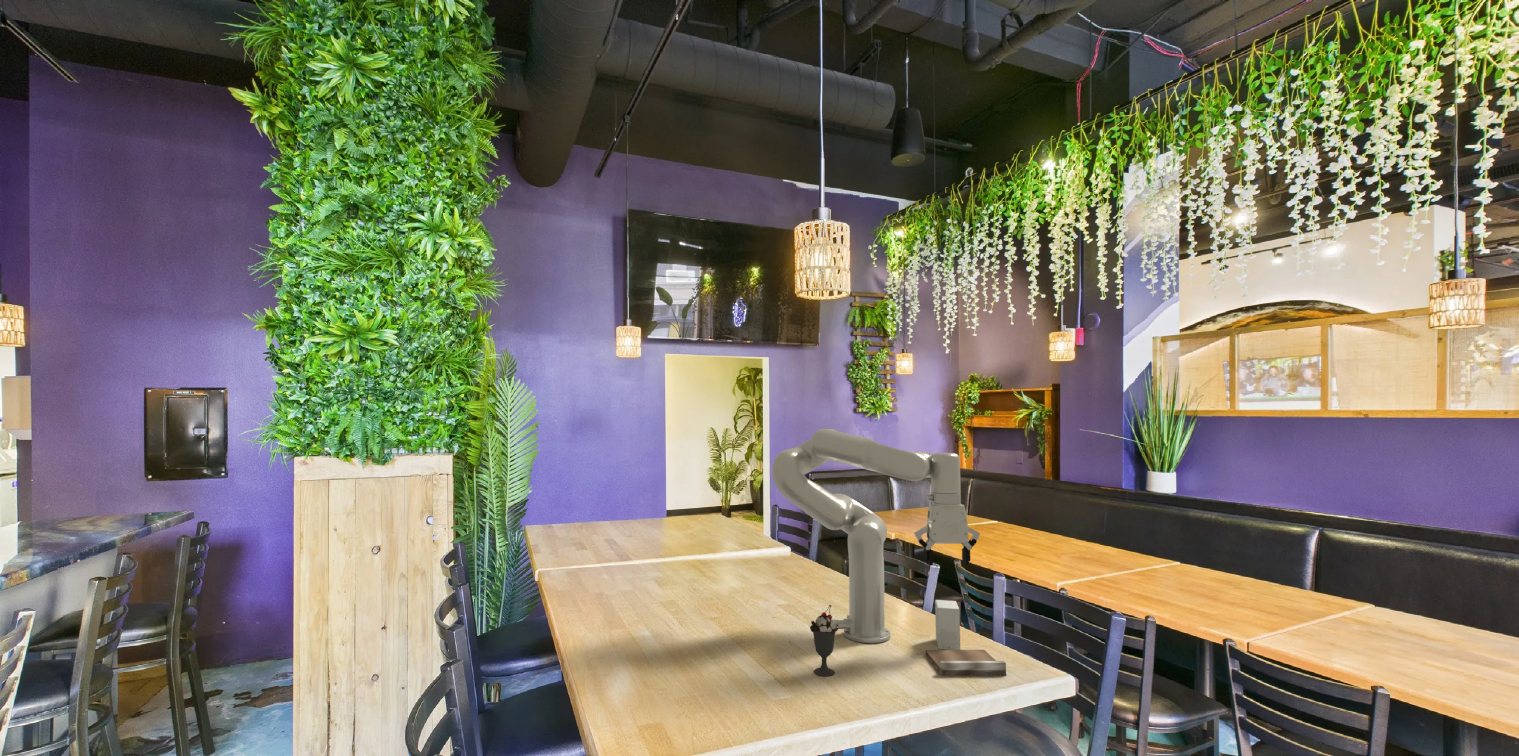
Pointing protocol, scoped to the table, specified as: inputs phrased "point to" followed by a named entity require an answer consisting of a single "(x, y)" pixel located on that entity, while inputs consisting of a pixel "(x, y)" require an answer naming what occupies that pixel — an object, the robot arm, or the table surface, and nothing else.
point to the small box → (947, 624)
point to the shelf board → (965, 662)
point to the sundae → (824, 641)
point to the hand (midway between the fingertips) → (947, 564)
